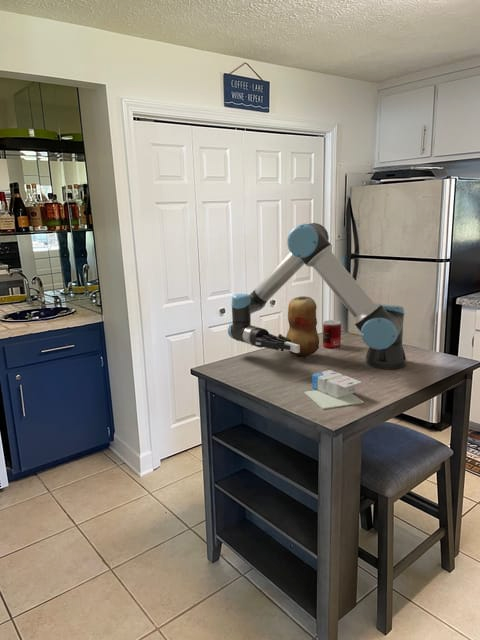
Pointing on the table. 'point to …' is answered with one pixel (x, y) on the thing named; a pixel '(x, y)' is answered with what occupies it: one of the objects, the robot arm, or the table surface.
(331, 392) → the ink box
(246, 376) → the table surface
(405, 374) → the table surface
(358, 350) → the table surface
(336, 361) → the table surface
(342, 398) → the sage mat
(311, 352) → the butternut squash
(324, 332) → the canned food
